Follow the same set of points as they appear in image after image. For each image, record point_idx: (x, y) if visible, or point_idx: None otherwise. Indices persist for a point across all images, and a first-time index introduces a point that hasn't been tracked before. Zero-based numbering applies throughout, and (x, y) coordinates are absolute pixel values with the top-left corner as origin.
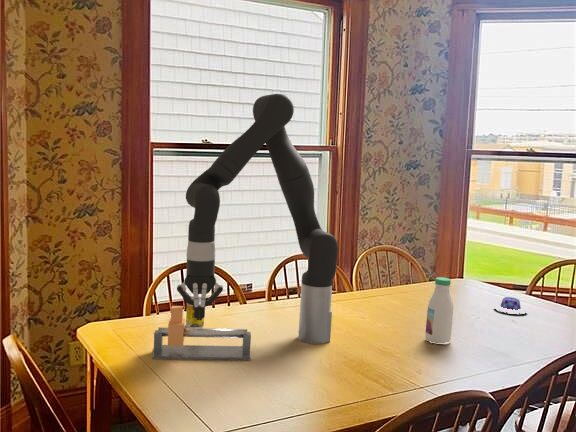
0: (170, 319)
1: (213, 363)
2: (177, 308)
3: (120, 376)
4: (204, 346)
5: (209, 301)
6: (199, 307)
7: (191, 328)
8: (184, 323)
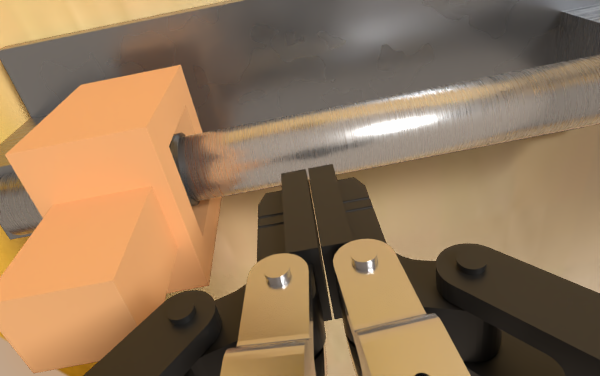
0: (33, 189)
1: (391, 195)
2: (98, 359)
3: (76, 371)
4: (316, 5)
5: (475, 367)
6: (329, 304)
7: (249, 179)
8: (164, 133)
